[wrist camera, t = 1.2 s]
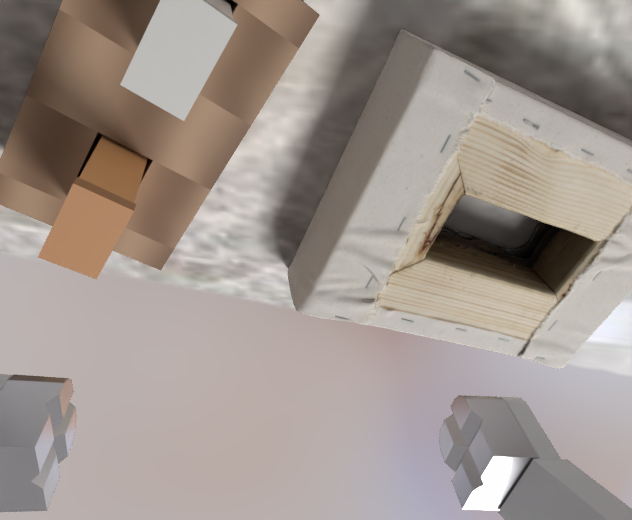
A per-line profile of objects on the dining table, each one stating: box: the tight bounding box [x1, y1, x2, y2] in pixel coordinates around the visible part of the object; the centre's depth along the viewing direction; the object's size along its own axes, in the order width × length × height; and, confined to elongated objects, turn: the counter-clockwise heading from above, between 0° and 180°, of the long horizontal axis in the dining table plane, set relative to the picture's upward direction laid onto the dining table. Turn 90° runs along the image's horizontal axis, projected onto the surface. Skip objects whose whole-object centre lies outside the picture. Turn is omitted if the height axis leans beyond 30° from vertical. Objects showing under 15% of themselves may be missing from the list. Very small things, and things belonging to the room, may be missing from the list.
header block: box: [0, 0, 319, 270], centre depth 32 cm, size 12×21×6 cm, turn 145°
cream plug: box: [120, 0, 237, 121], centre depth 26 cm, size 3×5×10 cm, turn 145°
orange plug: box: [38, 135, 148, 279], centre depth 30 cm, size 3×5×10 cm, turn 145°
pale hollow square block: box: [288, 30, 632, 368], centre depth 43 cm, size 23×8×32 cm
